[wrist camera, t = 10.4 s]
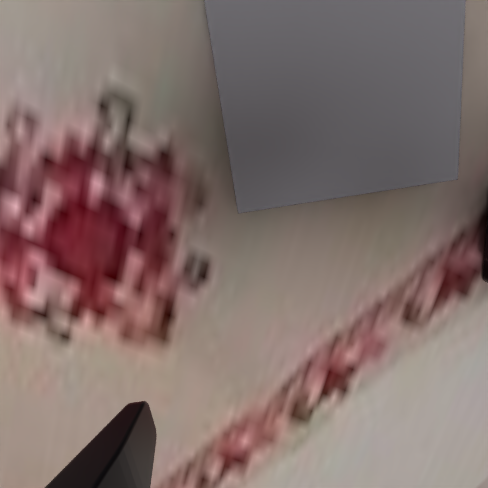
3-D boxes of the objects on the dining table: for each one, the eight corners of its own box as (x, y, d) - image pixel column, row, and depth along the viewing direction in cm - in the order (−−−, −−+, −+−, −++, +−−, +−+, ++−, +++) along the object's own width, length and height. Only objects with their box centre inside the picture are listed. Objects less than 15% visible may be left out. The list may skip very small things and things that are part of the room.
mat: (448, -77, 16) (469, -100, 14) (441, 176, 19) (457, 179, 18) (199, -35, 16) (195, -53, 14) (237, 208, 19) (238, 213, 18)
